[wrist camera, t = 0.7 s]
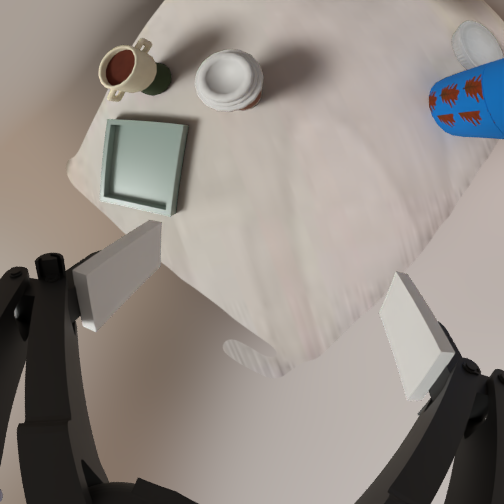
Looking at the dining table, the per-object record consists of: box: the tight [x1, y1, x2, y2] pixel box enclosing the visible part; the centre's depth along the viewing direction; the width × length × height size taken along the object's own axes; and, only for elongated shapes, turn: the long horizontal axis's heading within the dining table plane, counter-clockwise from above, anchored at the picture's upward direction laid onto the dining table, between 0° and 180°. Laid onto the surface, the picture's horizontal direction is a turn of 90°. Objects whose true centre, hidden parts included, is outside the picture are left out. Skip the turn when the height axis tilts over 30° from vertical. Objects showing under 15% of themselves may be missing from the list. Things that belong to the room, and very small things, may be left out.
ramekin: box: [452, 21, 504, 70], centre depth 27 cm, size 11×11×5 cm
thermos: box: [429, 58, 504, 139], centre depth 23 cm, size 11×11×25 cm
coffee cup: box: [195, 49, 264, 112], centre depth 35 cm, size 9×9×12 cm
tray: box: [100, 119, 189, 217], centre depth 46 cm, size 16×16×2 cm
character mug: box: [99, 38, 171, 102], centre depth 35 cm, size 11×7×13 cm, turn 147°
